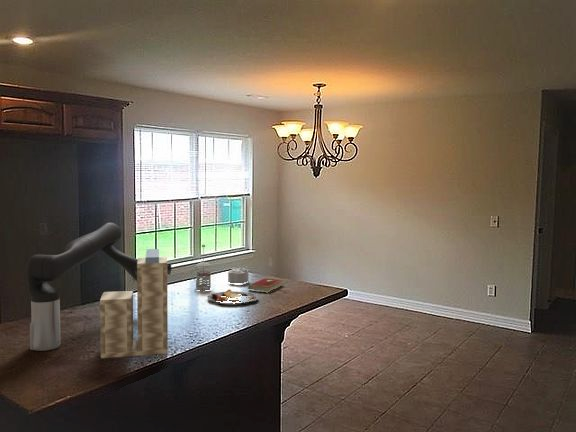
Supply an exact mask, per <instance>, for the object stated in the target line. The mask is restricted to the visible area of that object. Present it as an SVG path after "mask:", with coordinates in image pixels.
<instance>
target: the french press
mask: <svg viewBox="0 0 576 432" xmlns="http://www.w3.org/2000/svg"><path fill="white" fill-rule="evenodd" d="M205 247H206V245H205V244H202V245H201V248H202V249H203V253H202V255H203V258H202V259H203V260H202V262H199V263H197V264H195V267H194V268H193V269H192V270H191V271H190V274H193V271H194V270H196V269H198V268H197V267H199V268H203V269H202V270H201V271H196V273H197V274H196V275H195V277H196V278H194V276H193V275H190V276H191V277H190V278H191V279H192V280H193V281H194V282H195V288H194V291H195V290H200V291H205V290H210V288H212V287H211V286H212V285H211V282H212V281H211V279H212V278H211V274H210V273H211V271H208V270H207V271H205V268H208V267H211V266H212V264H210V263H209V262H205V260H204V258H205V257H204V256H205V254H204V253H205V252H204V251H205Z"/></svg>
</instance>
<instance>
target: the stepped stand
mask: <svg viewBox="0 0 576 432" xmlns="http://www.w3.org/2000/svg"><path fill="white" fill-rule="evenodd" d="M137 259H138V262H137V282H136V289H137V290H136V292H137V294H136V295H137V296H136V299H137V300H136V301H137V309H136V310H137V317H136V318H137V340H134V291H133V290H125V291H124V290H123V291H121V290H120V291H117V290H116V291H104V292H103V293H102V294H101V297H100V300H99V317H100V318H99V321H100V323H99V328H100V334H99V335H100V359H108V358H122V357H137V356H138V357H139V356H151V355H165V354H166V355H167V354H169V353H168V352H169V351H168V350H169V349H168V343H169V342H168V341H169V340H168V338H169V337H168V334H169V333H168V332H169V329H168V328H169V327H168V325H169V323H168V313H169V312H168V274H167V265H168V257H167V256H166V257H163V256H162V257H160V256H159V263H146V257H139V258H137Z"/></svg>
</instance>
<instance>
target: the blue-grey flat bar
mask: <svg viewBox="0 0 576 432" xmlns="http://www.w3.org/2000/svg"><path fill="white" fill-rule="evenodd" d="M159 257H160V249H159V248H150V249H149V248H147V249H146V252H145V258H146V263H159Z"/></svg>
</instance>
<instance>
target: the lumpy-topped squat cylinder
mask: <svg viewBox="0 0 576 432" xmlns="http://www.w3.org/2000/svg"><path fill="white" fill-rule="evenodd" d="M227 280H228V281H227V283H228V282H230V283H244V282H247V281H248V282H249V270H248V269H247V268H245V267H243V268H242V267H238V268H234V267H232V269H230V270H228V272H227Z"/></svg>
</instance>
